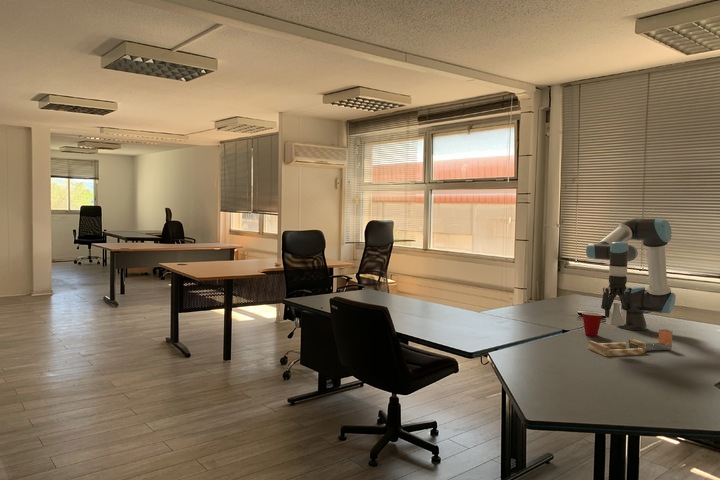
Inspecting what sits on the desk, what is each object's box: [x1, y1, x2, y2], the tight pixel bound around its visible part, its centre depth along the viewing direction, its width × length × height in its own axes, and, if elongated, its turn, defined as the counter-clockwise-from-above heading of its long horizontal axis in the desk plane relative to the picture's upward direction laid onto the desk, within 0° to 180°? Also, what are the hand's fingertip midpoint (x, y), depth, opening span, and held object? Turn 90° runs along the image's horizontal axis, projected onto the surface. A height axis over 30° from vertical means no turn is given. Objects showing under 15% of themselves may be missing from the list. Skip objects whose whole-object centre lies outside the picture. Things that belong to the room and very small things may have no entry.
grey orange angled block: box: [628, 329, 673, 352], centre depth 258 cm, size 20×4×9 cm, turn 102°
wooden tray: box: [587, 338, 647, 357], centre depth 255 cm, size 23×12×4 cm, turn 102°
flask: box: [610, 302, 624, 327], centre depth 253 cm, size 7×7×10 cm
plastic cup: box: [581, 311, 604, 337], centre depth 288 cm, size 11×11×12 cm
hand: (615, 323), depth 254 cm, fingers closed on flask, 7 cm apart
